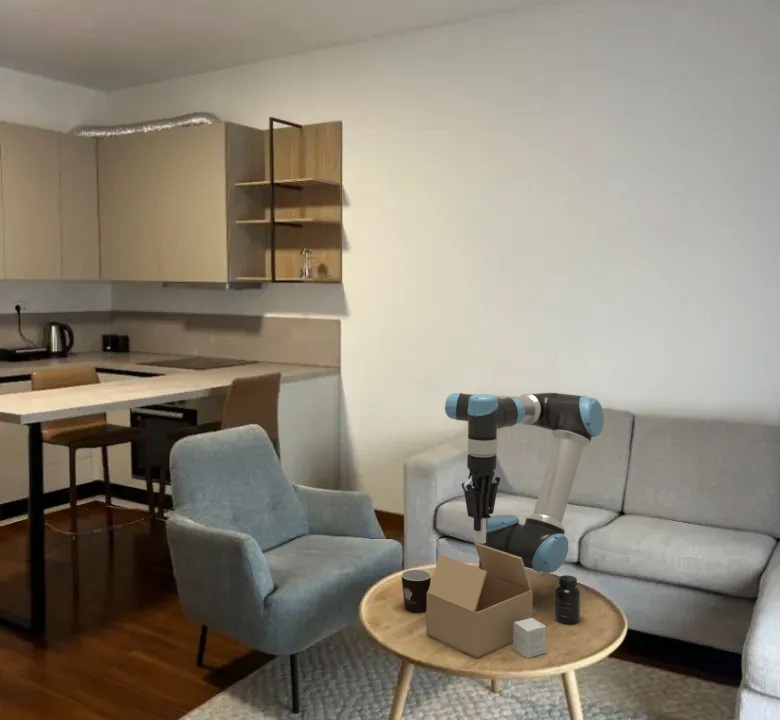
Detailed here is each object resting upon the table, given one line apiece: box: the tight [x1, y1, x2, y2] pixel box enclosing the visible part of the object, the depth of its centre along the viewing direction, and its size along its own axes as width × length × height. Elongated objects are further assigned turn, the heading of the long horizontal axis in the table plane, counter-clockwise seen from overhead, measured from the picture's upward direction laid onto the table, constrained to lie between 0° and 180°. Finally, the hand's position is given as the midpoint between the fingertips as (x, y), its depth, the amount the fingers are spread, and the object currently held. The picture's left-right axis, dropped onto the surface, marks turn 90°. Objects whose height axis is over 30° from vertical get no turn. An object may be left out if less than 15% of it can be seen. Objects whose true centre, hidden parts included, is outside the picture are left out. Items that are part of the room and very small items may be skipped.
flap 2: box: [474, 542, 532, 590], centre depth 219 cm, size 10×16×1 cm
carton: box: [425, 574, 534, 660], centre depth 214 cm, size 22×18×12 cm
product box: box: [512, 617, 547, 659], centre depth 205 cm, size 6×6×7 cm
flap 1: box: [428, 554, 487, 612], centre depth 207 cm, size 10×16×1 cm
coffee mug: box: [400, 569, 432, 614], centre depth 229 cm, size 12×9×10 cm
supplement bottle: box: [554, 574, 581, 625], centre depth 223 cm, size 7×7×12 cm
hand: (480, 541), depth 212 cm, fingers closed
